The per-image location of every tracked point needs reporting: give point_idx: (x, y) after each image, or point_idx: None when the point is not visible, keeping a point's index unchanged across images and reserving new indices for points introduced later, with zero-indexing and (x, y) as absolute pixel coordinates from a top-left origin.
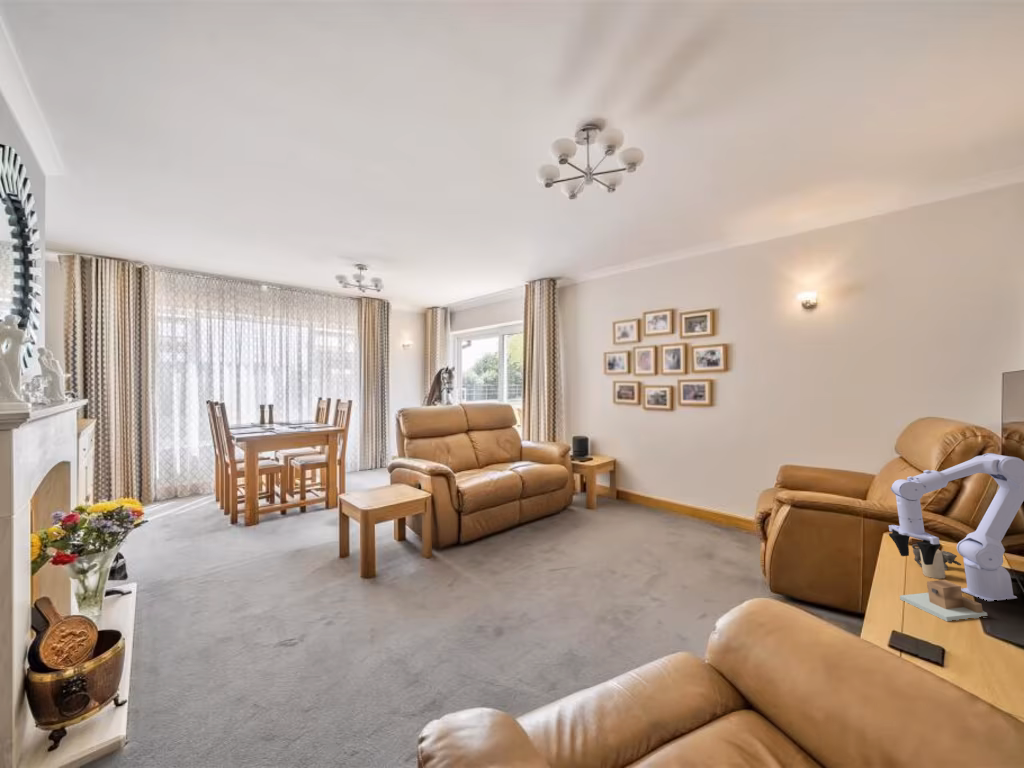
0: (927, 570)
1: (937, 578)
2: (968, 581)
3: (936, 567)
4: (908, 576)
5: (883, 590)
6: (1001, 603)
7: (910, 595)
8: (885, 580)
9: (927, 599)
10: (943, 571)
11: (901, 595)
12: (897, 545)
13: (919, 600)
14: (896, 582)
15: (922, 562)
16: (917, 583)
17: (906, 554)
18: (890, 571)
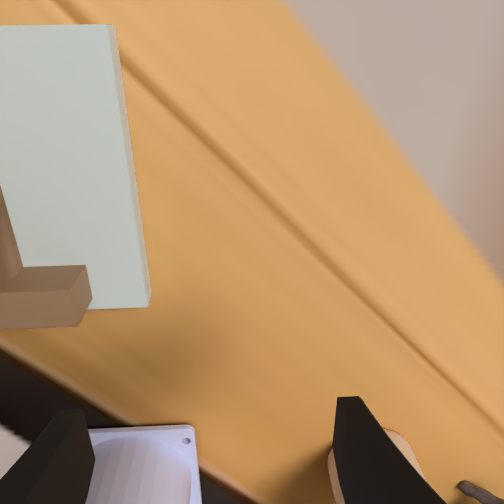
0: None
1: None
2: (137, 491)
3: None
4: (406, 360)
5: (282, 45)
6: None
7: (104, 110)
8: (413, 205)
9: (32, 165)
10: (335, 500)
11: (106, 39)
12: (414, 497)
13: (13, 96)
14: (365, 241)
15: None
16: (316, 331)
17: (336, 445)
18: (497, 333)
